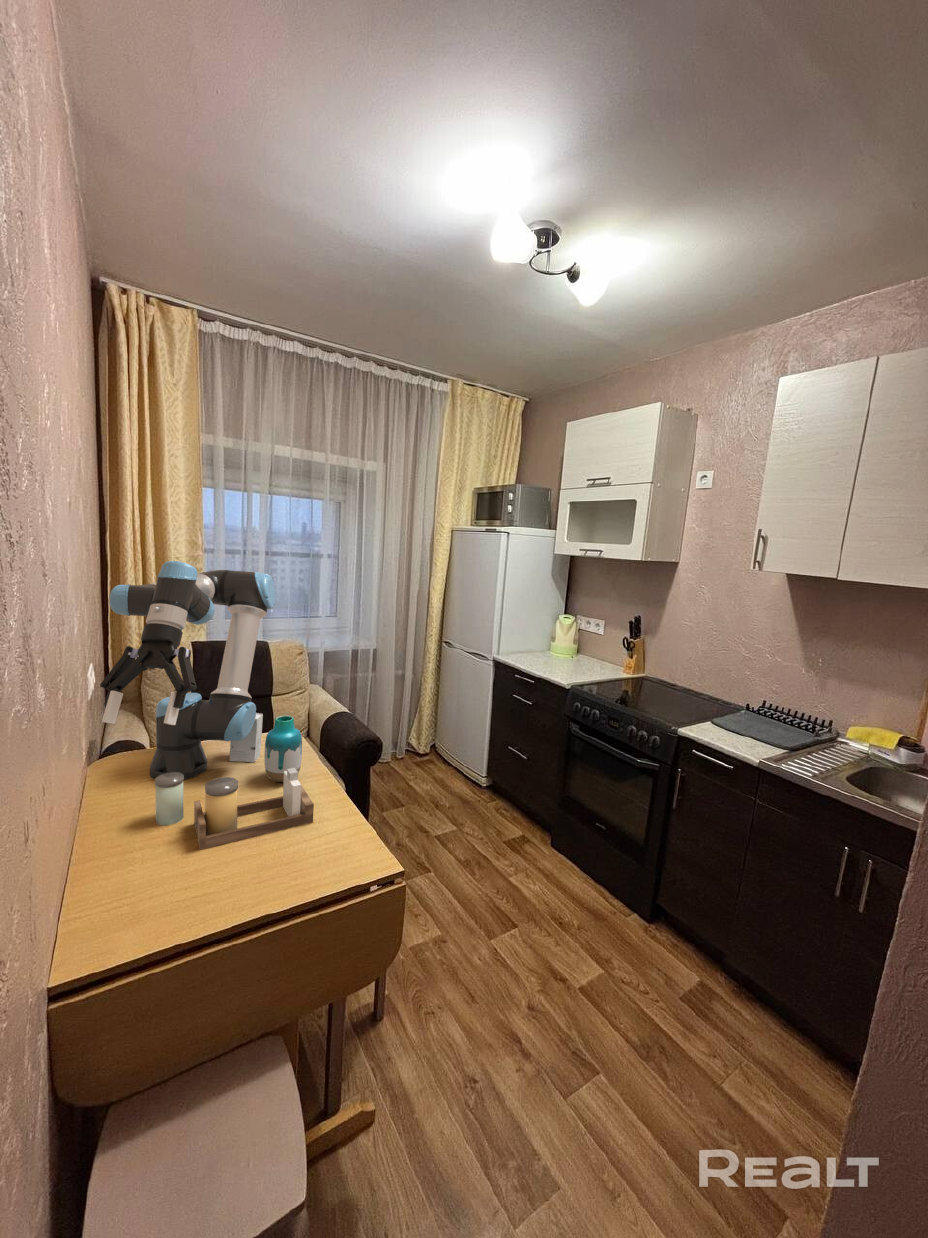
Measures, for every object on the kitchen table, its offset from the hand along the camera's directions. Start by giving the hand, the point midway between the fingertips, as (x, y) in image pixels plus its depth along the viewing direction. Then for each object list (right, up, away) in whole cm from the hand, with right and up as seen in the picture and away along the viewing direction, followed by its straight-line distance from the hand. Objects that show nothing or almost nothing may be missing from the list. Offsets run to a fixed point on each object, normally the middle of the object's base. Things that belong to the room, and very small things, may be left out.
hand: (138, 723), depth 102 cm
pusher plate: (+22, -30, +28) cm, 46 cm away
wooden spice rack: (+14, -30, +23) cm, 40 cm away
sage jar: (-7, -29, +22) cm, 37 cm away
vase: (+13, -27, +47) cm, 56 cm away
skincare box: (-4, -24, +58) cm, 63 cm away
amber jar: (+8, -30, +19) cm, 36 cm away
